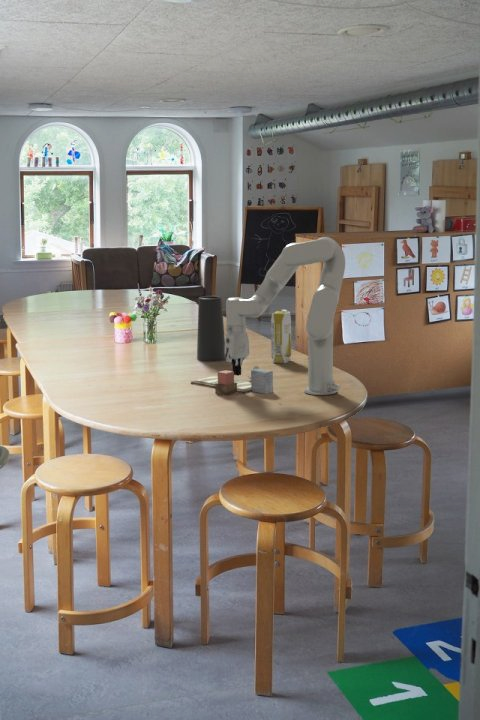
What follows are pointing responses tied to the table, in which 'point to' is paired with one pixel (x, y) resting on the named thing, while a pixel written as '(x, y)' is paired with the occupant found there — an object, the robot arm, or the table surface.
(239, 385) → the board
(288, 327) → the juice carton
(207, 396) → the table surface
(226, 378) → the die
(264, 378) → the medicine box
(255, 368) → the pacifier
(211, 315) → the dark tapered cylinder
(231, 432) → the table surface
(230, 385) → the stand
